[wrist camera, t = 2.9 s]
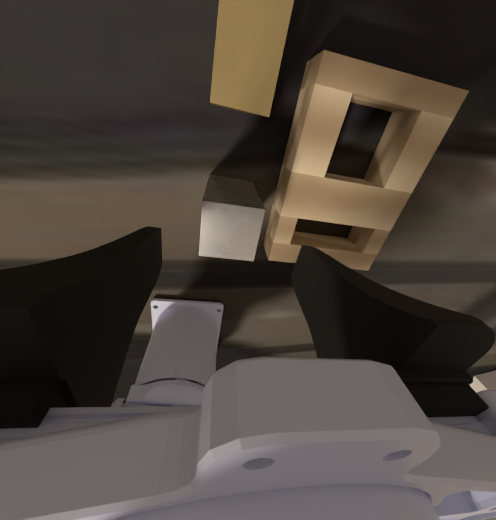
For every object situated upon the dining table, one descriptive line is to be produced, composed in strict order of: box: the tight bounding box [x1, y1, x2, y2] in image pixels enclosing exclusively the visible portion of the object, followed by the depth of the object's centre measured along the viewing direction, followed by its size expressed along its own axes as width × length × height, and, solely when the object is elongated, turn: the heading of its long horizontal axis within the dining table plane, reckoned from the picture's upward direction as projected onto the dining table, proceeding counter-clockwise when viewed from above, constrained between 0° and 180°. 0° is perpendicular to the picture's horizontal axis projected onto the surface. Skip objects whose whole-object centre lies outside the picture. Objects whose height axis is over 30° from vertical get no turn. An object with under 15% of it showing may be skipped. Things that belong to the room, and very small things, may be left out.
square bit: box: [199, 175, 265, 261], centre depth 16 cm, size 4×4×7 cm
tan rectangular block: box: [210, 0, 294, 117], centre depth 14 cm, size 6×4×2 cm, turn 169°
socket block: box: [263, 50, 469, 270], centre depth 18 cm, size 14×10×3 cm
